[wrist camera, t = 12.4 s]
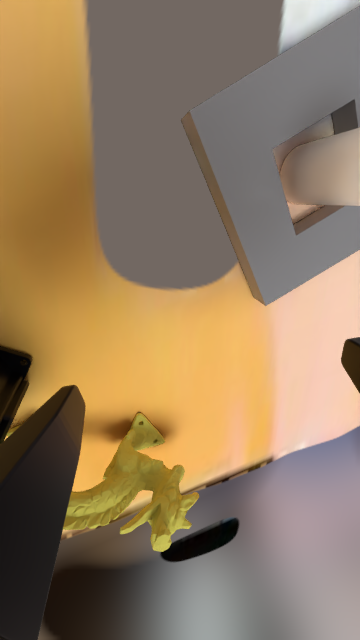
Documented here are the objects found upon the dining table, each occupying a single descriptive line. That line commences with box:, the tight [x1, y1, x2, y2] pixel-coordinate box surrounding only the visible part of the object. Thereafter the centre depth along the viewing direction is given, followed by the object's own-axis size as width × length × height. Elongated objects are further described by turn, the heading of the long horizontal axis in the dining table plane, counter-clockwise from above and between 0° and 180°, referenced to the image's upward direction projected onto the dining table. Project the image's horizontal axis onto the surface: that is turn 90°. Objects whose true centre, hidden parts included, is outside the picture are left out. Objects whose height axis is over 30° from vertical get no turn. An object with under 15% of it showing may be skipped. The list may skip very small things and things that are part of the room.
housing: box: [181, 6, 360, 306], centre depth 17 cm, size 15×14×5 cm
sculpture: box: [7, 412, 199, 552], centre depth 20 cm, size 18×5×10 cm, turn 74°
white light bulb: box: [280, 128, 360, 206], centre depth 15 cm, size 4×4×10 cm
